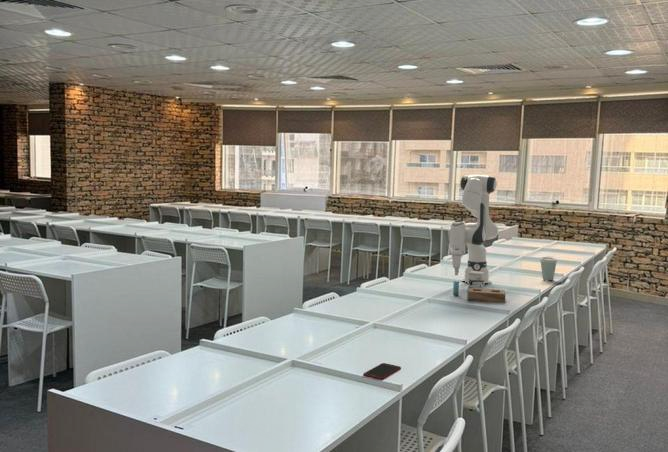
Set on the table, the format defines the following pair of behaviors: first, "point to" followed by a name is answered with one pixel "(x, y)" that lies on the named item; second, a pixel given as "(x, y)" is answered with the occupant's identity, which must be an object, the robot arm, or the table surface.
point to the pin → (456, 288)
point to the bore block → (486, 295)
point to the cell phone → (382, 371)
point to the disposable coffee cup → (548, 267)
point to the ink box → (476, 279)
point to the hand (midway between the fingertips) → (456, 274)
